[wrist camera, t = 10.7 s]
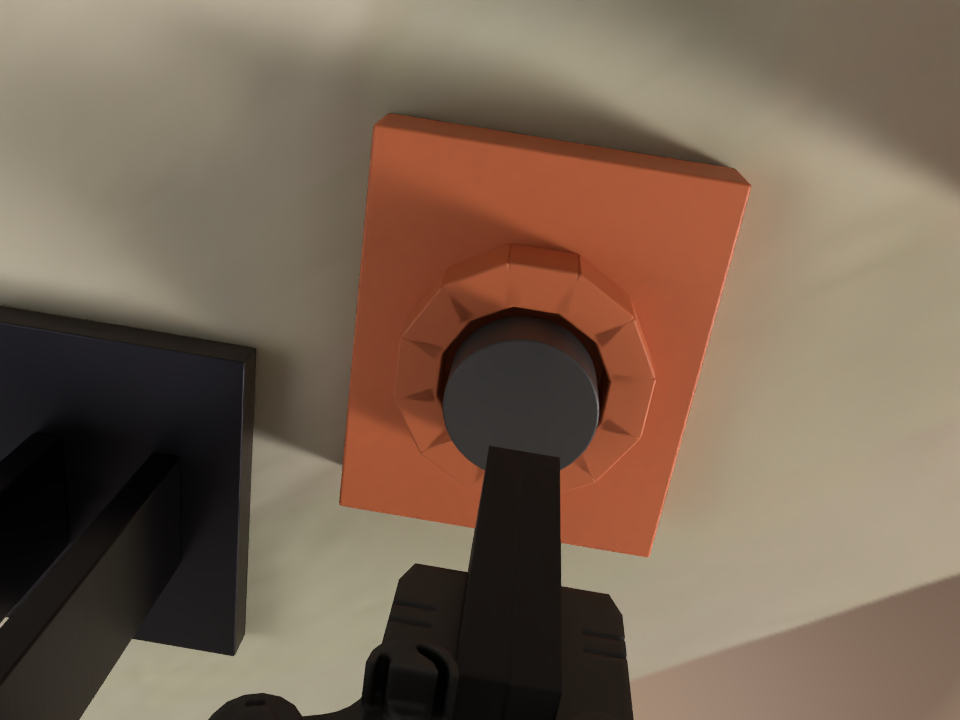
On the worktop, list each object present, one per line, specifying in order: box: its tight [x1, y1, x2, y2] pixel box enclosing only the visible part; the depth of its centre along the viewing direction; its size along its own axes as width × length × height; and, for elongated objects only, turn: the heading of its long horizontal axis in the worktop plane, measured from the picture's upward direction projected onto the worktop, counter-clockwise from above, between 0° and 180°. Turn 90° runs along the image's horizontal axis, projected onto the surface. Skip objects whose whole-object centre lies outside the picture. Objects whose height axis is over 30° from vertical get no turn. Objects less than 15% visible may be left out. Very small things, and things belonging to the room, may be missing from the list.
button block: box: [339, 113, 751, 557], centre depth 25 cm, size 12×10×4 cm
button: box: [442, 316, 599, 470], centre depth 23 cm, size 4×4×2 cm
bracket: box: [0, 306, 256, 720], centre depth 23 cm, size 12×9×15 cm
